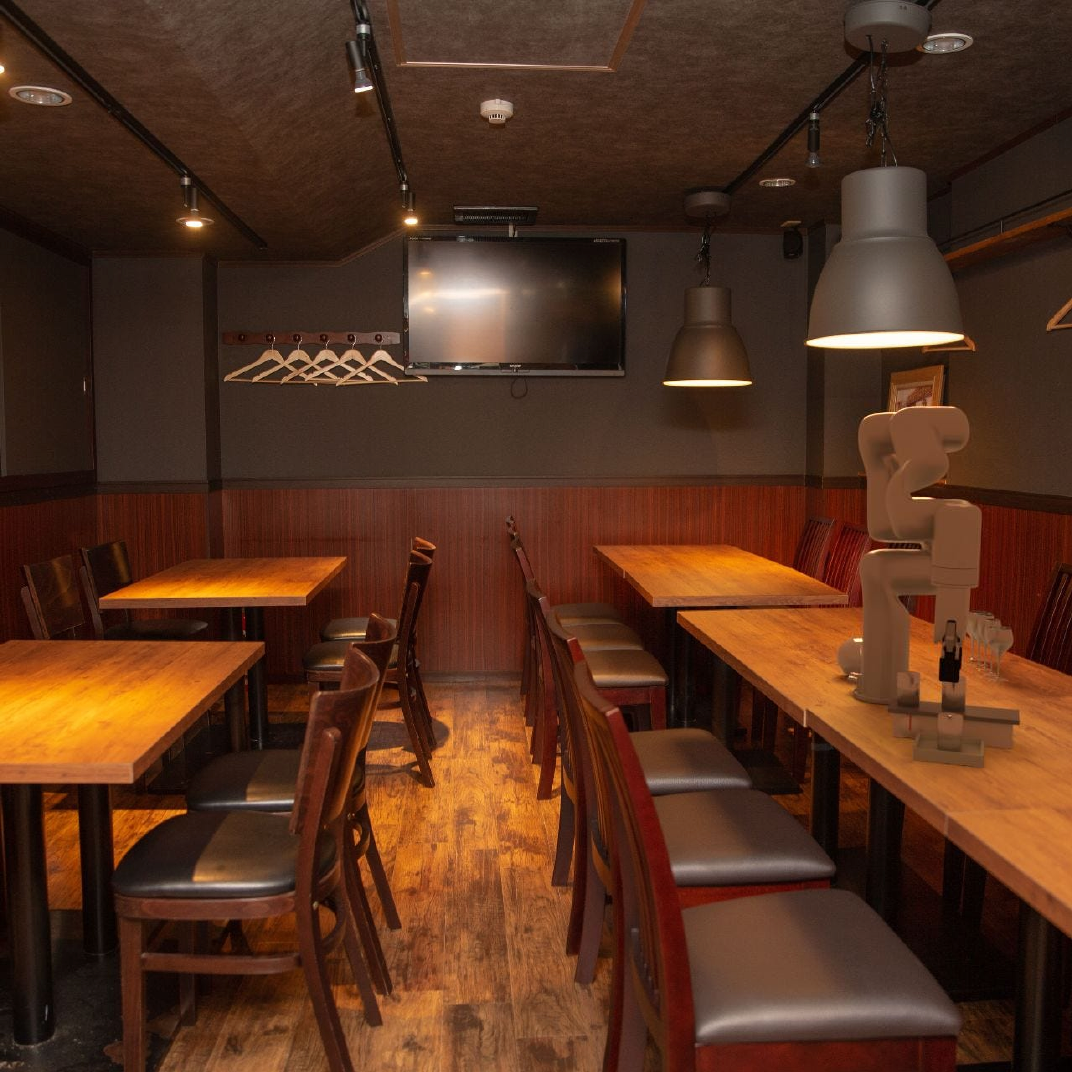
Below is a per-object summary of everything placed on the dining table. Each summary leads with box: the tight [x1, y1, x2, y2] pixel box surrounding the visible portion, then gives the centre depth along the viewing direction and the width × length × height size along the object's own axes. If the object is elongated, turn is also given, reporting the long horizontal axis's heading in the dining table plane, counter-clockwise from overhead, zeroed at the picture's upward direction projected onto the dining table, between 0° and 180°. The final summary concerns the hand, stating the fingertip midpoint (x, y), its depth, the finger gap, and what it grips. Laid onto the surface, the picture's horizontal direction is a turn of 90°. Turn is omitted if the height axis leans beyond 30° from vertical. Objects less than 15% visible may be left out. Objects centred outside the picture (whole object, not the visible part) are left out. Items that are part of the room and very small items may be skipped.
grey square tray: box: [912, 733, 985, 769], centre depth 181 cm, size 11×11×2 cm
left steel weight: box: [897, 670, 921, 707], centre depth 195 cm, size 4×4×6 cm
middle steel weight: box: [941, 674, 967, 712], centre depth 192 cm, size 4×4×6 cm
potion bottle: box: [836, 636, 862, 676], centre depth 243 cm, size 9×10×15 cm
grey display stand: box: [886, 698, 1021, 750], centre depth 192 cm, size 22×8×5 cm, turn 66°
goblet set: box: [966, 610, 1014, 682], centre depth 252 cm, size 28×6×13 cm, turn 171°
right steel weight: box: [937, 712, 963, 753], centre depth 181 cm, size 4×4×6 cm
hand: (950, 675), depth 181 cm, fingers open, 9 cm apart
